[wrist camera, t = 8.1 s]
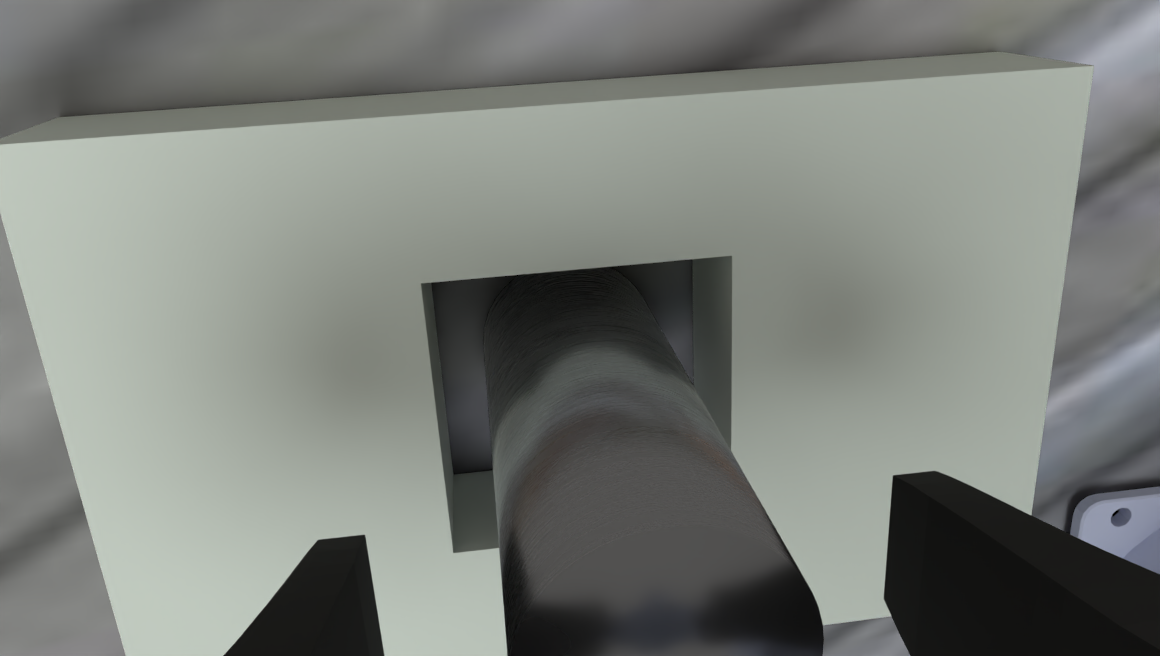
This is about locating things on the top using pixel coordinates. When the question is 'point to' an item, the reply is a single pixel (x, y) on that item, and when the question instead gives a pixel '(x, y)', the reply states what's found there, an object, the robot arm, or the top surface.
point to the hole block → (525, 246)
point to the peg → (623, 489)
